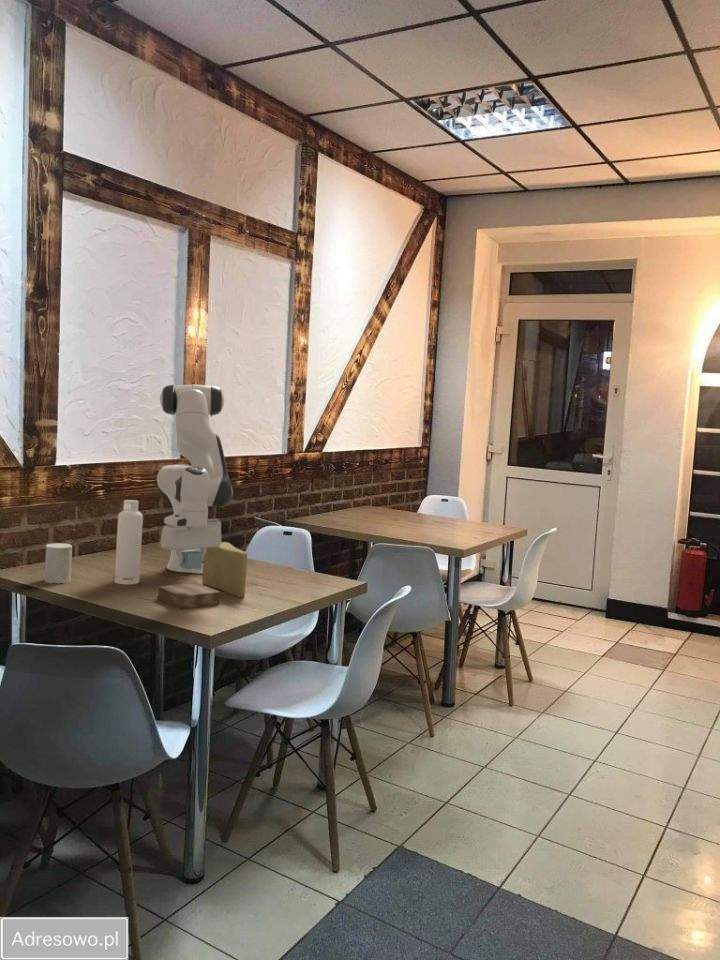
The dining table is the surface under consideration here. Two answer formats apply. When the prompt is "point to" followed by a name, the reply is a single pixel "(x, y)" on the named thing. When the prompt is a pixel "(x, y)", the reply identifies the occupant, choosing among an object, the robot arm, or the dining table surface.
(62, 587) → the dining table surface
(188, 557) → the cube
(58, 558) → the cup
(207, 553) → the cheese
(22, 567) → the dining table surface
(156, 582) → the dining table surface
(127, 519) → the bottle
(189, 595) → the riser
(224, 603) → the dining table surface
